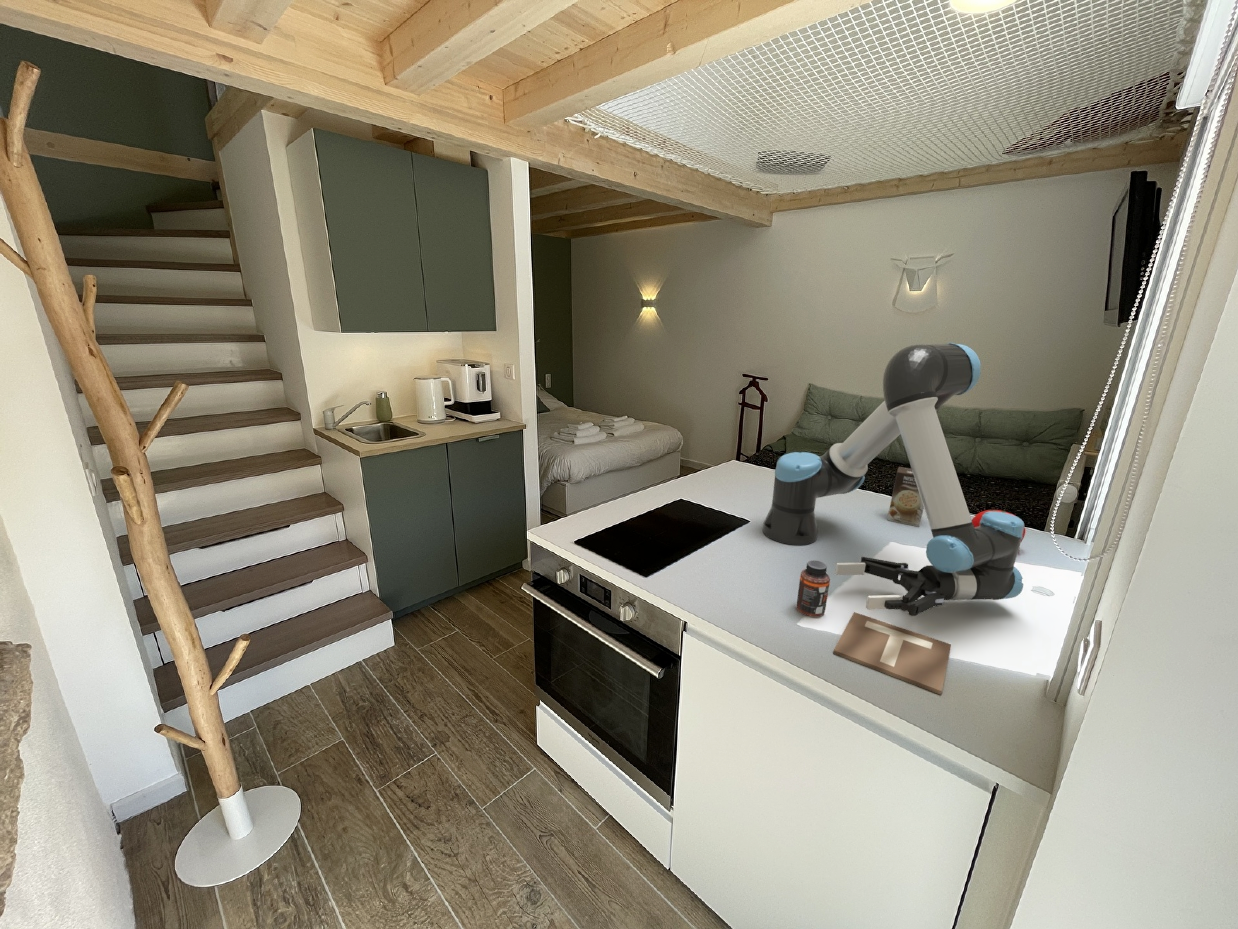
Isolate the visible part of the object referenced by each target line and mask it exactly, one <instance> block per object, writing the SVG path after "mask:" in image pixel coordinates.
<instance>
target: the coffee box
mask: <svg viewBox="0 0 1238 929" xmlns="http://www.w3.org/2000/svg"><path fill="white" fill-rule="evenodd" d="M924 510H925V509H924V506H923V503H922V500H921V497H920V493H919V490H918V487H917V484H916V481H915V478H914V474H913V471H912V468H911V467H910V468H908V467H903V466H898V468H897V471H896V476H895V480H894V486H893V491H892V496H891V500H890V504H889V508H888V514H887V517H886V520H887V521H890V522H895V523H900V524H904V525H909V526H913V527H918V528H919V527H921V521H922V518H923V514H924Z"/></svg>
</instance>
